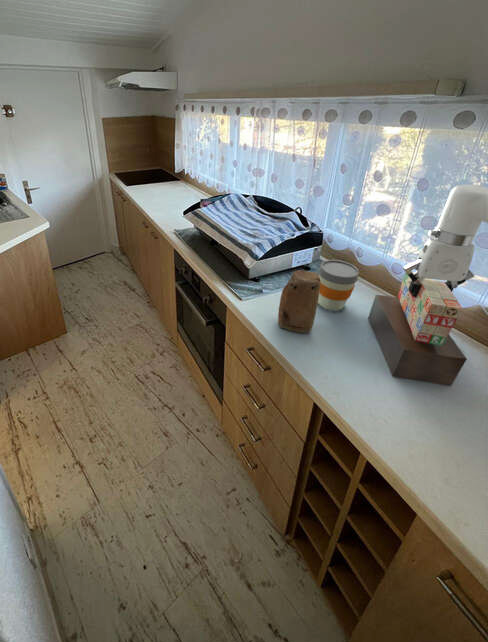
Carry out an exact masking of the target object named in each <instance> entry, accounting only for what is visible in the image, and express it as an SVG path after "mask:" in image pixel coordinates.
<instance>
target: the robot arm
mask: <svg viewBox="0 0 488 642" xmlns="http://www.w3.org/2000/svg"><path fill="white" fill-rule="evenodd" d="M482 222H483V223H487V224H488V187H485V186H482V185H477V184H476V185H475V184H458V185H456V186H454V187H453V188H452V189H450V192H449V194H448V197H447V200H446V202H445V205H444V207H443V209H442V212H441V214H440V217H439V220H438V222H437V225H436V226H435V228H434V229H433V230H431V229H430V230H428V232H427V234H428V236H430V237H429V238H428V239H427V240H426V242H425V243H424V245H422V248H421V250H420V252H419V253H418V256H417V258H416V260H415V261H413V262H410V263H408V264H406V265H404V266H403V267H402V269H403V271H404V272H405V273H407V275H408V276H409V277H410V279H411V280H412V281H411V283H410V286H409V289H408V290H409V292H410V293H411V295H412V296H413V297H416V296H417V294H418V291H419V289H420V287H421V285H420V284H419V283H420V282H421V281H422V280H424V279H425V278H427V279H433V280H437V281H444V282H445V284H446V285H447V286H448V288H449V289H450V290H451V292H452V293H453V291H454V289H457V288H458V286H460V285H462V284H464V283H466V281H469V280H471V279H473V278H474V277H475V274H474V273H473V272H472V271H471V270H470V266H471V263H472V260H473V257H474V252H475V244H473V241H474V239H475V237H476V235H477V233H478V230H479V228H480V225H481V224H482ZM413 270H416V271H414V272H415V273H414V274H413V273H412V272H413Z"/></svg>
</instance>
